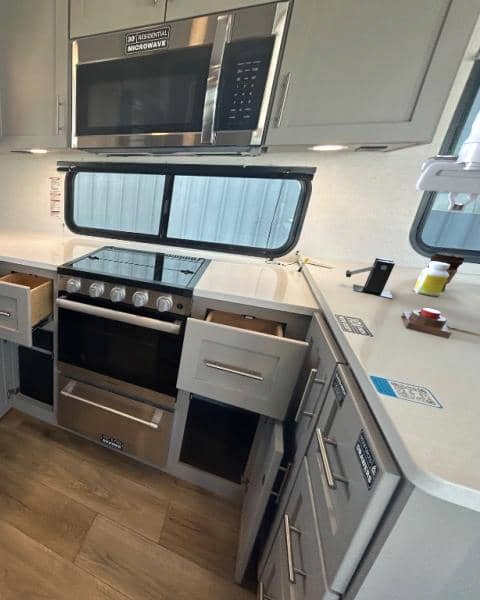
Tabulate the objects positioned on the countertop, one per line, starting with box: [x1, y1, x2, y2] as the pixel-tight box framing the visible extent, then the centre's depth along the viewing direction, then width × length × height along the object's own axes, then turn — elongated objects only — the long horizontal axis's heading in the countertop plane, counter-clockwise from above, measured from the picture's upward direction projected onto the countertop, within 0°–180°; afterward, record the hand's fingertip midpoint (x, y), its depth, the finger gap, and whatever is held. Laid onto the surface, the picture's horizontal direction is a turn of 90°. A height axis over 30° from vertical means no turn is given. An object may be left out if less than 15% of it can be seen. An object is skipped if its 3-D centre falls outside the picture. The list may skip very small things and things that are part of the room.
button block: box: [400, 309, 452, 339], centre depth 88 cm, size 10×8×4 cm
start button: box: [420, 307, 442, 319], centre depth 87 cm, size 4×4×2 cm
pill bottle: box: [412, 261, 450, 298], centre depth 110 cm, size 6×6×12 cm
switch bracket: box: [352, 257, 396, 300], centre depth 109 cm, size 10×8×12 cm
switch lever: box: [345, 261, 388, 278], centre depth 110 cm, size 11×5×2 cm
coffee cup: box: [427, 252, 465, 292], centre depth 118 cm, size 9×8×13 cm
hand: (455, 210), depth 91 cm, fingers closed
